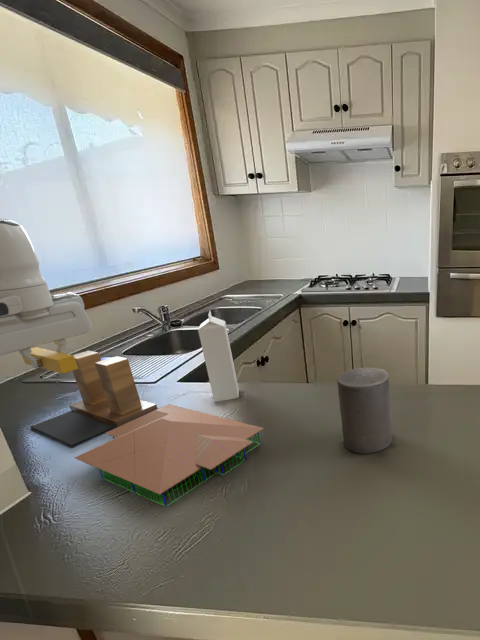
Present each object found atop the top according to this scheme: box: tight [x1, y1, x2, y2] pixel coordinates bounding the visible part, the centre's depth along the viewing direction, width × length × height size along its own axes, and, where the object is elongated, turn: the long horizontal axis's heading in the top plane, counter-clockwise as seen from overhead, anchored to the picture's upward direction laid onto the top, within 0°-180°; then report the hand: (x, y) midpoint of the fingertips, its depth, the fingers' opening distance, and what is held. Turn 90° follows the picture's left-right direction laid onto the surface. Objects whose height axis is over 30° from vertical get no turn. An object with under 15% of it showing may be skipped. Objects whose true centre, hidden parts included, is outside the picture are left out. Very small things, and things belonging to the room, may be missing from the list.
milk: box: [197, 310, 240, 403], centre depth 105 cm, size 6×6×22 cm
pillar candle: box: [336, 367, 393, 455], centre depth 80 cm, size 10×10×15 cm
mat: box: [29, 410, 116, 448], centre depth 97 cm, size 20×9×1 cm, turn 59°
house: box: [74, 403, 265, 508], centre depth 81 cm, size 23×33×8 cm
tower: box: [68, 350, 159, 428], centre depth 103 cm, size 22×10×14 cm, turn 59°
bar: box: [21, 346, 78, 375], centre depth 92 cm, size 18×3×3 cm, turn 59°
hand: (49, 363), depth 92 cm, fingers closed on bar, 3 cm apart
